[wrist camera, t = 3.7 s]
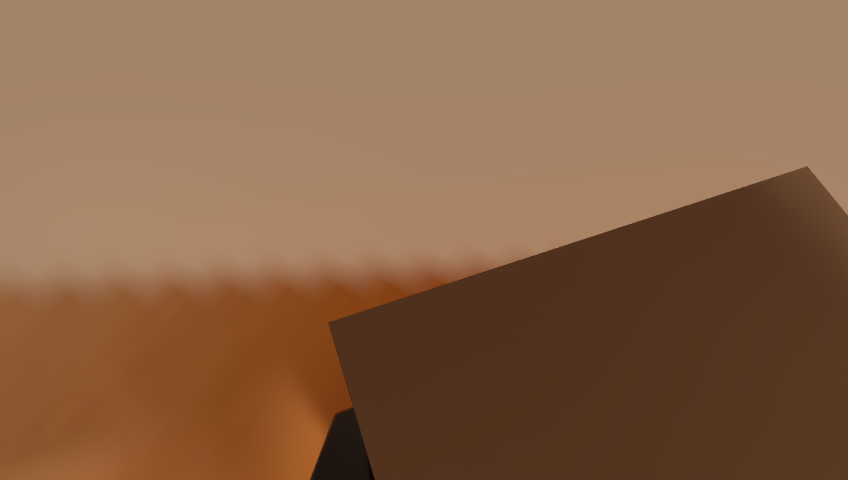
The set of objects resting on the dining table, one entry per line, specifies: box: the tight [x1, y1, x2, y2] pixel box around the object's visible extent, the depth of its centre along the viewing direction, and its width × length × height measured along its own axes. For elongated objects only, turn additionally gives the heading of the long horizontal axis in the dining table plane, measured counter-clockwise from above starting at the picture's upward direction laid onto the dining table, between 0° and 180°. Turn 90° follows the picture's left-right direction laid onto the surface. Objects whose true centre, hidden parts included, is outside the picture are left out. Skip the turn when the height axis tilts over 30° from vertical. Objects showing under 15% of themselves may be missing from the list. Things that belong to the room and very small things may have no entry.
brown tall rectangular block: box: [329, 167, 848, 480], centre depth 8 cm, size 5×5×12 cm
